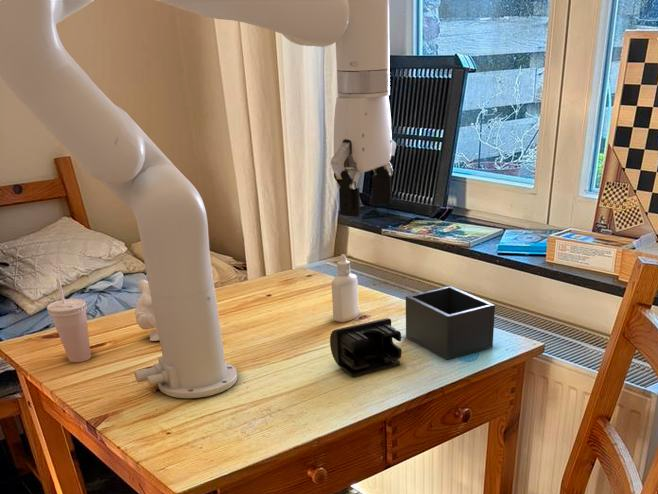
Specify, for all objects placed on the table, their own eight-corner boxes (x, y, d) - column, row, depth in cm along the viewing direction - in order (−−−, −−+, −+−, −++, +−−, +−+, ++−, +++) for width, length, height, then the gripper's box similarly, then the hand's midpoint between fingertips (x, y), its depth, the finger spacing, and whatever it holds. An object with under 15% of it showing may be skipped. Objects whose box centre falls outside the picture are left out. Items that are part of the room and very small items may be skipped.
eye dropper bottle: (364, 318, 143) (361, 255, 136) (336, 323, 141) (333, 259, 135) (355, 311, 146) (352, 249, 140) (328, 316, 145) (324, 254, 138)
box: (446, 360, 125) (448, 316, 121) (405, 337, 134) (405, 296, 130) (492, 347, 129) (495, 304, 124) (449, 326, 138) (450, 285, 134)
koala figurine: (188, 339, 137) (177, 274, 131) (154, 349, 134) (141, 282, 127) (167, 327, 143) (156, 264, 137) (134, 336, 140) (121, 272, 133)
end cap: (383, 351, 129) (382, 313, 125) (403, 365, 124) (403, 326, 120) (330, 363, 125) (328, 325, 122) (349, 378, 120) (347, 338, 116)
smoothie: (81, 348, 135) (62, 271, 128) (106, 354, 132) (88, 276, 125) (53, 361, 131) (31, 282, 123) (78, 367, 128) (57, 287, 120)
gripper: (370, 79, 115) (373, 196, 124) (307, 89, 103) (315, 218, 112) (414, 79, 112) (413, 199, 121) (354, 90, 99) (358, 223, 108)
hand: (366, 208), depth 116 cm, fingers open, 9 cm apart
